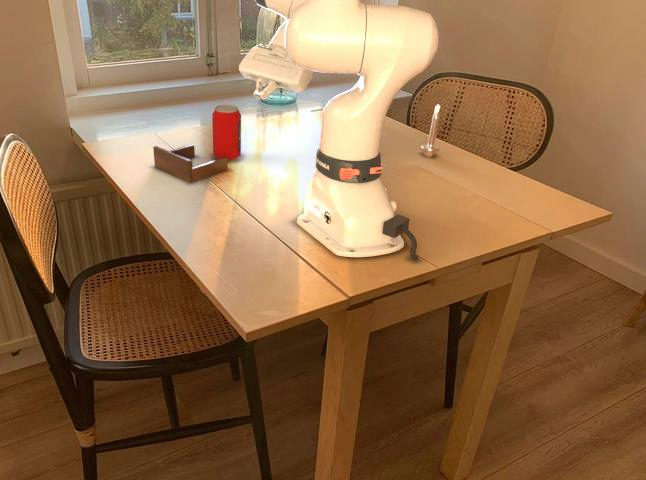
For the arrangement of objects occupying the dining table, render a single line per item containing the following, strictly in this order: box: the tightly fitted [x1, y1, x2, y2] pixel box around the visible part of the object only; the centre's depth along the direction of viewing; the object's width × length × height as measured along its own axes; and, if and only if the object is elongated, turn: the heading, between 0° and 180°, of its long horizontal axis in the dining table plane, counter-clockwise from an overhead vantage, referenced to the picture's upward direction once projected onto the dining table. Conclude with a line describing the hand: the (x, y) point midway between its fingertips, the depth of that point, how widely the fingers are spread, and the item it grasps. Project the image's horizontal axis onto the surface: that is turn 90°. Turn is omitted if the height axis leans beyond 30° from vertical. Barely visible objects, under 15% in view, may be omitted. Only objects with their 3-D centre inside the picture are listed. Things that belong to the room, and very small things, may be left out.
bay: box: [152, 143, 228, 184], centre depth 134 cm, size 11×12×5 cm
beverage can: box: [211, 104, 242, 162], centre depth 139 cm, size 7×7×12 cm
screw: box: [420, 104, 442, 158], centre depth 146 cm, size 13×5×5 cm
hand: (258, 97), depth 143 cm, fingers closed
